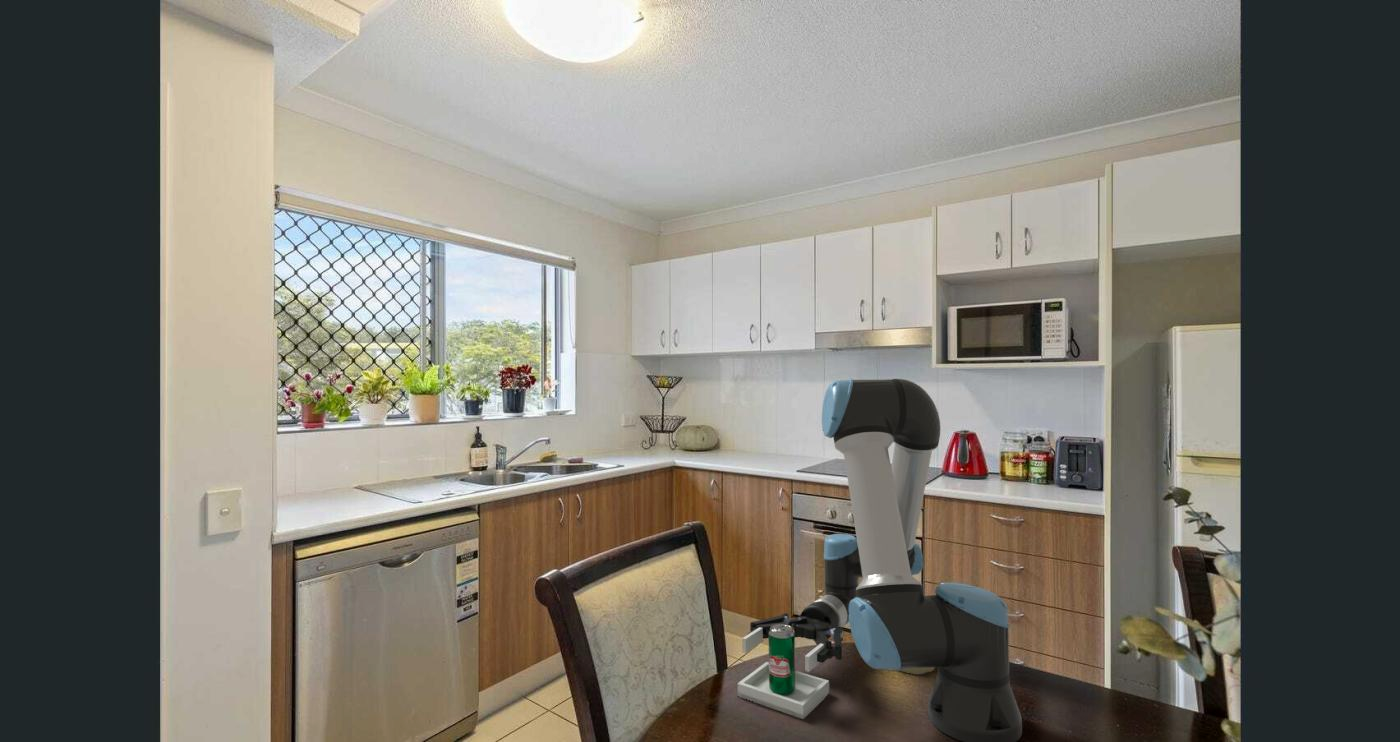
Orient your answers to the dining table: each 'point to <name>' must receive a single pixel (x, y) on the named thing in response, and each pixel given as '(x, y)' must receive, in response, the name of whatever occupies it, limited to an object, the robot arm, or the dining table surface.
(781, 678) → the soda can
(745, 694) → the tray
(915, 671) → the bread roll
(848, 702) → the dining table surface
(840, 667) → the dining table surface
